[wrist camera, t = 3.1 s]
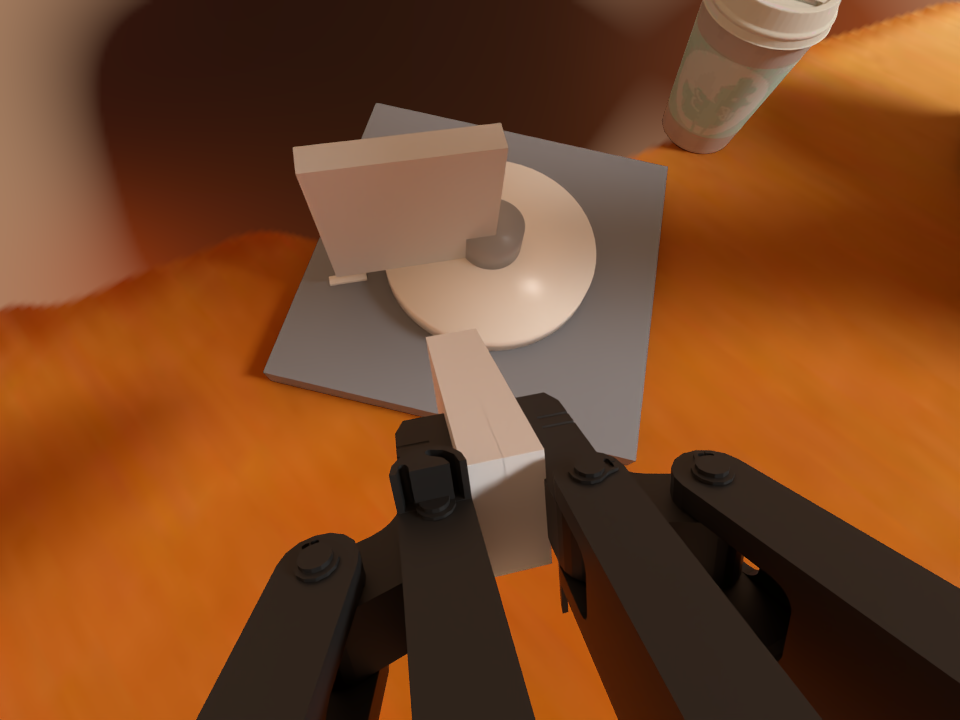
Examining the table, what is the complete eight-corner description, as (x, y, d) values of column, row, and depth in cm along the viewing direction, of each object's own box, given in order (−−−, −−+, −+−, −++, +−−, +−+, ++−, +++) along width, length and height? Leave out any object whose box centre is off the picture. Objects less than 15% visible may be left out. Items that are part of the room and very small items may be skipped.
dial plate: (660, 180, 40) (668, 164, 38) (627, 465, 31) (636, 460, 29) (378, 118, 40) (375, 100, 39) (271, 380, 32) (261, 371, 30)
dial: (559, 163, 37) (598, 24, 28) (616, 330, 33) (688, 233, 23) (329, 193, 35) (283, 54, 26) (353, 377, 30) (307, 292, 21)
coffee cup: (625, 122, 42) (689, -37, 31) (687, 75, 44) (767, -87, 33) (705, 185, 40) (805, 39, 29) (766, 132, 42) (880, -20, 31)
